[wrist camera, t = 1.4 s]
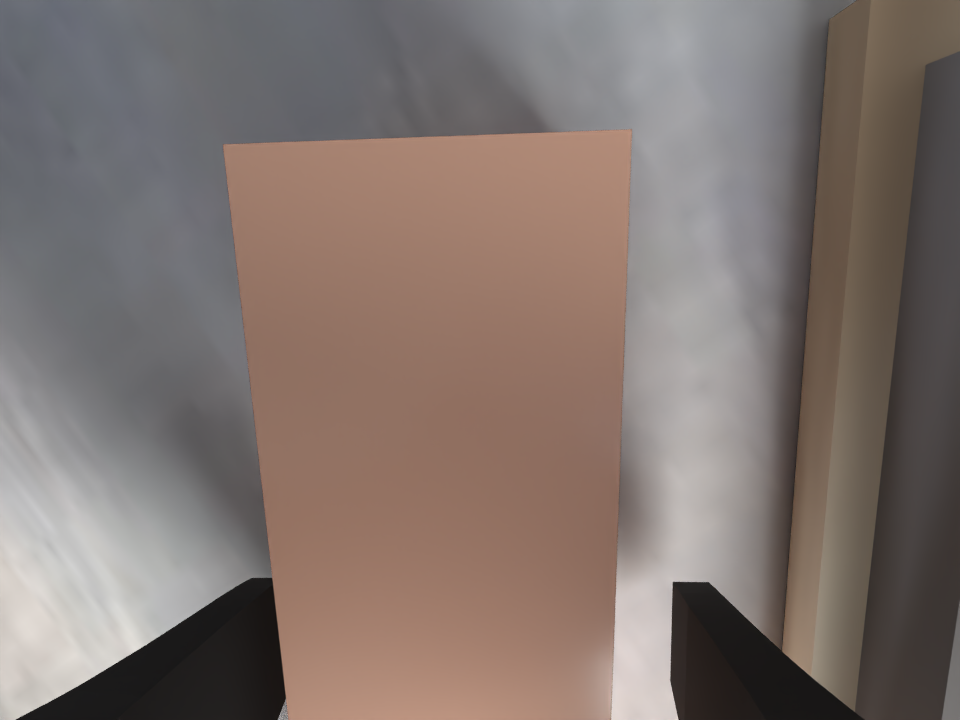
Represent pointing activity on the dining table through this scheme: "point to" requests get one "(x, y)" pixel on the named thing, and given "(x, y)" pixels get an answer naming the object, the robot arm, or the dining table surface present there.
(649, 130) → the dining table surface
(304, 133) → the dining table surface
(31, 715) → the robot arm
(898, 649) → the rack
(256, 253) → the clay block
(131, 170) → the dining table surface
